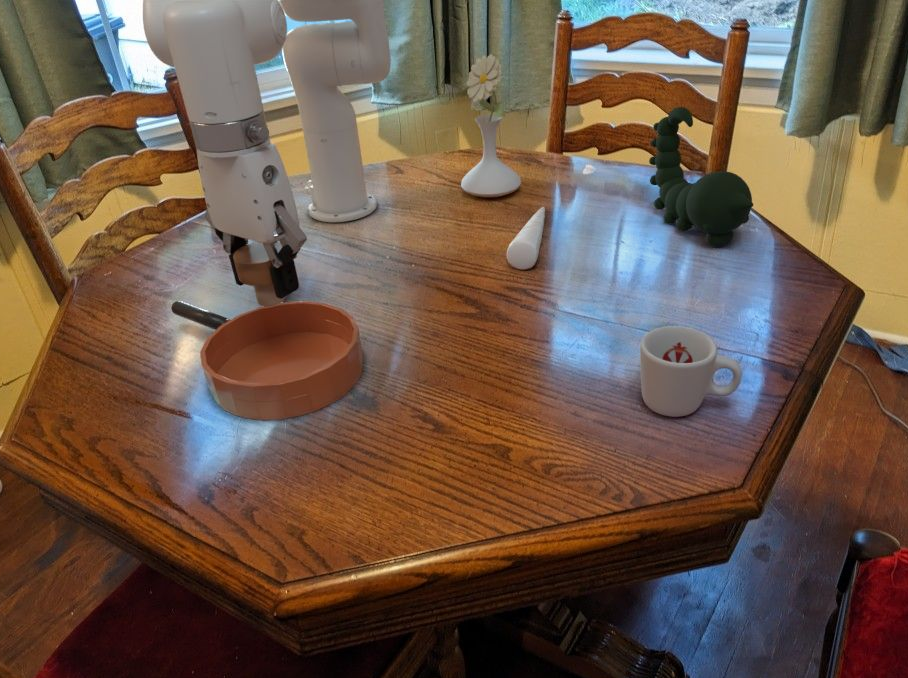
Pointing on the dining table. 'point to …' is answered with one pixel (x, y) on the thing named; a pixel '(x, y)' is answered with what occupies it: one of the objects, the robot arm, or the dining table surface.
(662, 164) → the toy figurine
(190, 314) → the pan handle
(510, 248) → the unicorn horn
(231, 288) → the dining table surface
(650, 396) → the cup
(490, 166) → the flower in vase
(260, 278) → the mushroom
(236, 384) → the pan
